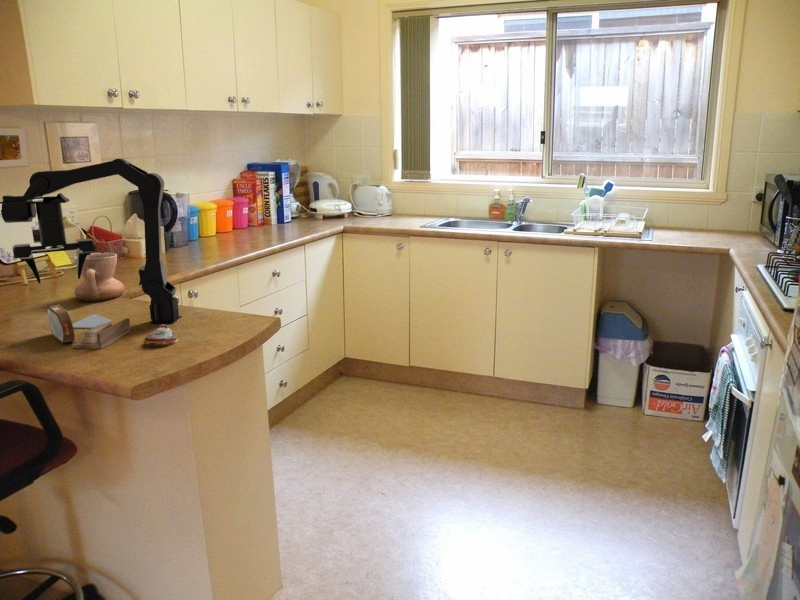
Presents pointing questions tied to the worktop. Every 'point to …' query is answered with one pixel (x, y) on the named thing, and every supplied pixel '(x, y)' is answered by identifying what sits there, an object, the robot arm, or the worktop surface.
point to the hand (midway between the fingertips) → (59, 280)
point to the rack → (108, 335)
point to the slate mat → (90, 322)
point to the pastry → (160, 337)
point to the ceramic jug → (99, 278)
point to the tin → (60, 323)
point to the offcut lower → (89, 339)
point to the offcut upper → (96, 329)
